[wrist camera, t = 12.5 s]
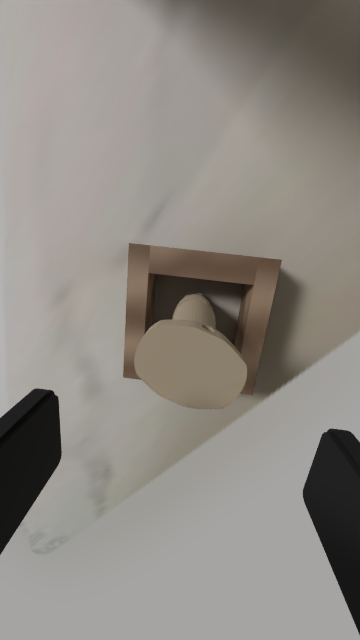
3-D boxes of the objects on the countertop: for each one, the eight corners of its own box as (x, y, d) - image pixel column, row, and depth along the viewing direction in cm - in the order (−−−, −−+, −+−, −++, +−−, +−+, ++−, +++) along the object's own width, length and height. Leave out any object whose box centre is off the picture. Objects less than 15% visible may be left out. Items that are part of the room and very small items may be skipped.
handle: (178, 274, 27) (153, 308, 13) (229, 297, 27) (262, 357, 13) (162, 312, 28) (123, 380, 14) (211, 333, 29) (221, 422, 14)
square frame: (140, 244, 26) (128, 243, 22) (267, 258, 26) (281, 259, 21) (134, 359, 30) (123, 377, 26) (244, 374, 30) (252, 394, 25)
